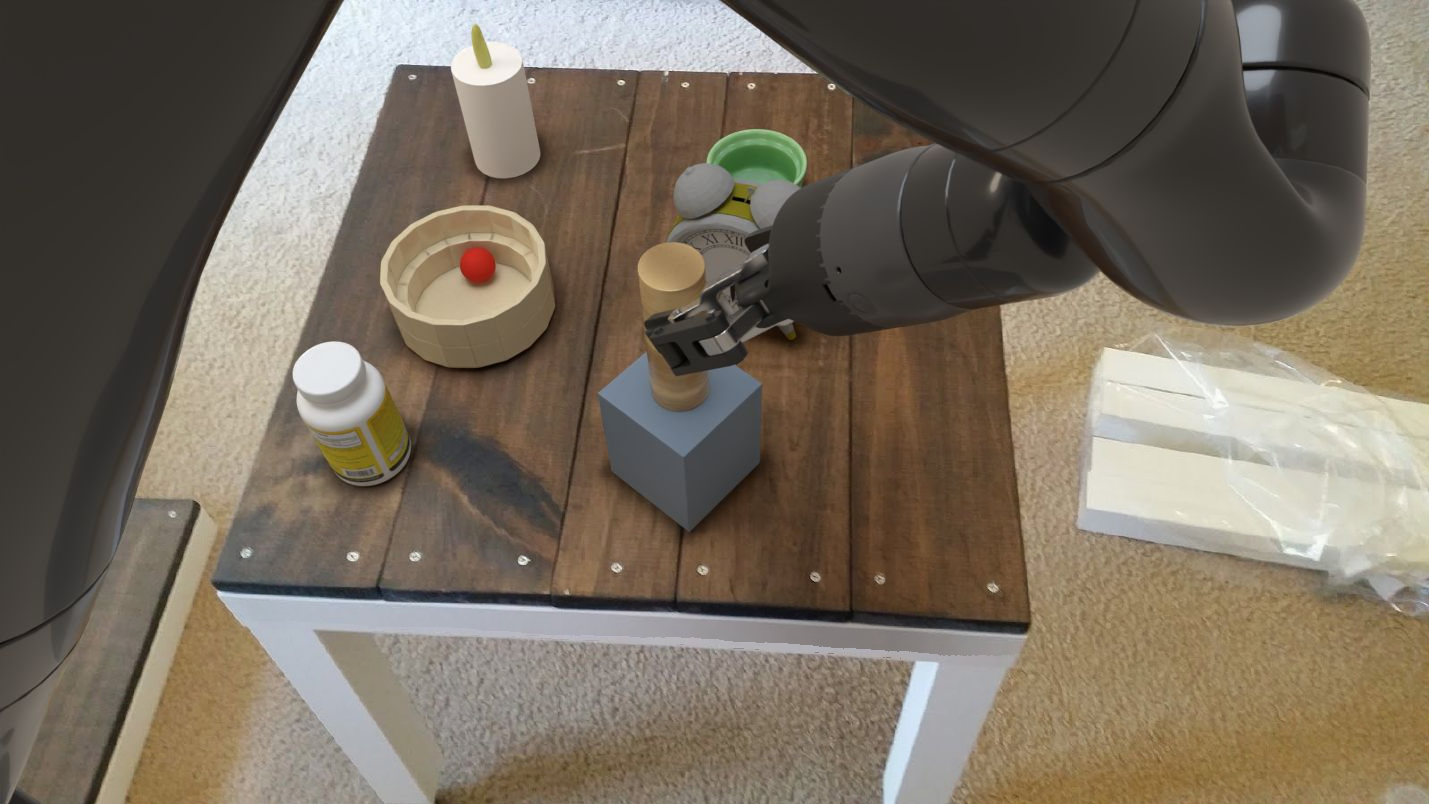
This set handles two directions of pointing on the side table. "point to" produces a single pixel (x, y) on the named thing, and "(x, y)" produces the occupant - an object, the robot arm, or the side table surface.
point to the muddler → (665, 285)
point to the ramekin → (760, 156)
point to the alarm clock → (724, 218)
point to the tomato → (477, 265)
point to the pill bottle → (350, 414)
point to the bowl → (468, 286)
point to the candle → (496, 107)
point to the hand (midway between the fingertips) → (707, 291)
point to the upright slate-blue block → (683, 440)
